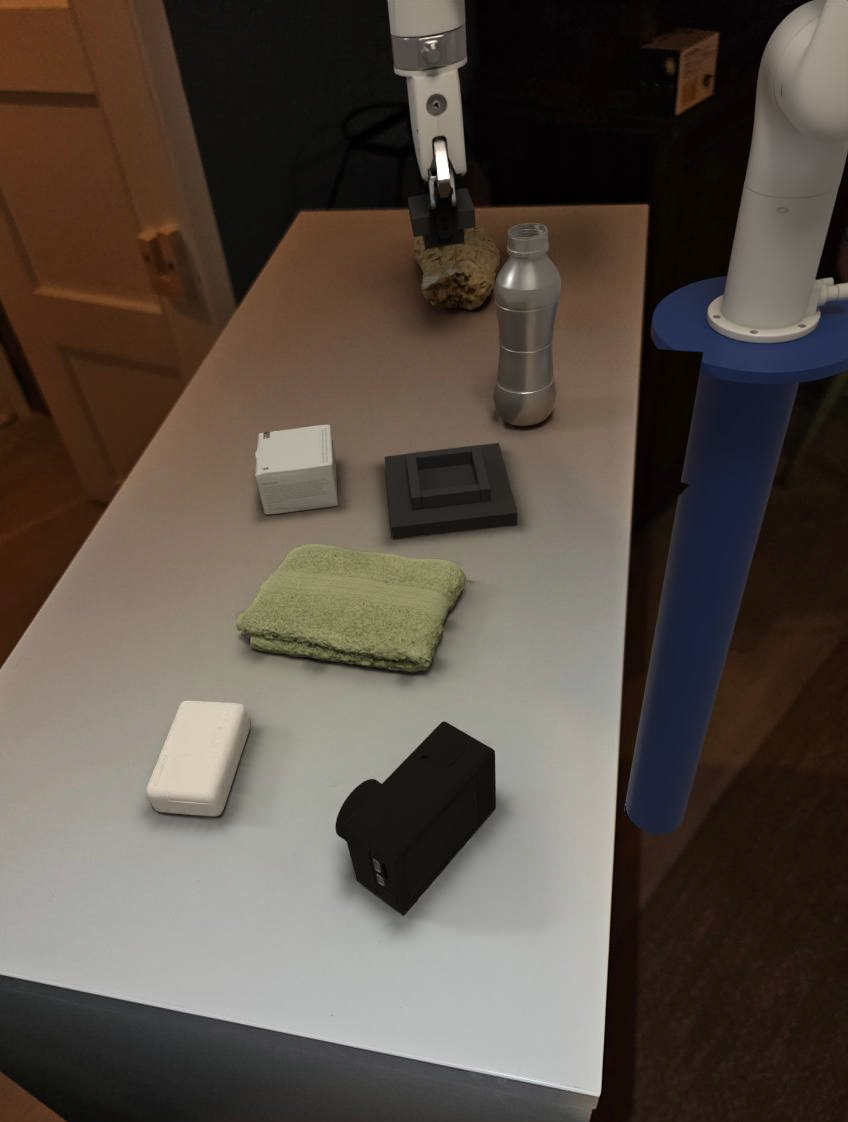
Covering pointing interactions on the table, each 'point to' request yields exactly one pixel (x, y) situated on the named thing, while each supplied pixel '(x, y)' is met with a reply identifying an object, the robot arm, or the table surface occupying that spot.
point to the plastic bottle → (526, 327)
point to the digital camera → (418, 815)
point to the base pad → (449, 491)
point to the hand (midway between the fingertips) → (442, 228)
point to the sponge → (459, 270)
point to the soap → (199, 758)
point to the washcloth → (354, 607)
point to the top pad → (421, 216)
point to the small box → (296, 469)
